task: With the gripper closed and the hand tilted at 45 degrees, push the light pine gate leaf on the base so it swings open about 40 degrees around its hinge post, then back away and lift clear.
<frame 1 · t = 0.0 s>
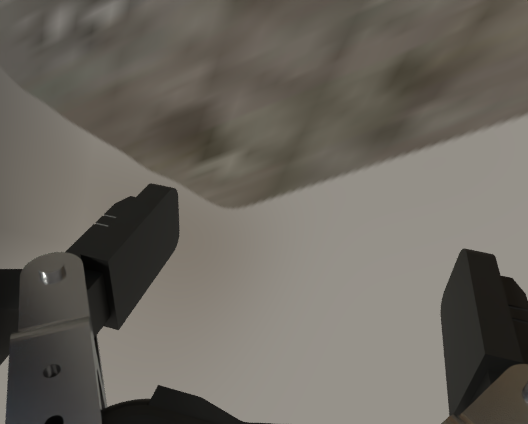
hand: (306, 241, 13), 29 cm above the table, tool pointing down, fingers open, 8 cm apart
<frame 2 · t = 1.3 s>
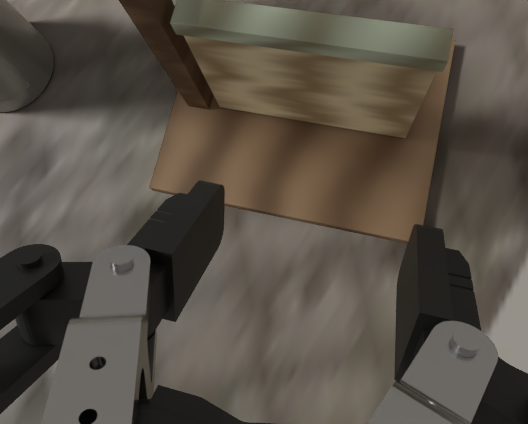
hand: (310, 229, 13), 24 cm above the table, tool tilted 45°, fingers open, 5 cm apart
gate leaf: (308, 77, 33), point 7 cm above the table, hinge at 0.0°
gate base: (221, 105, 41), on the table
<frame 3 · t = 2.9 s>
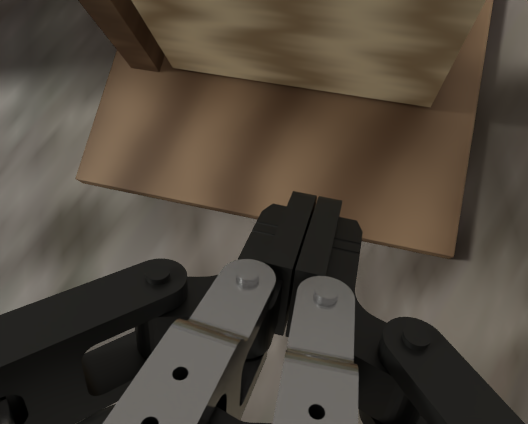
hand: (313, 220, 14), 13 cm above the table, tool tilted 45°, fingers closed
gate leaf: (290, 11, 22), point 7 cm above the table, hinge at 0.0°
gate base: (177, 67, 31), on the table
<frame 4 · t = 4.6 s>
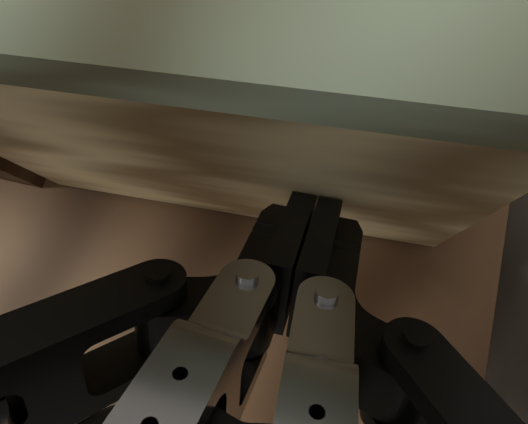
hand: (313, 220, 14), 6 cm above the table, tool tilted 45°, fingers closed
gate leaf: (197, 143, 13), point 7 cm above the table, hinge at 2.4°, touching gripper
gate base: (72, 176, 22), on the table
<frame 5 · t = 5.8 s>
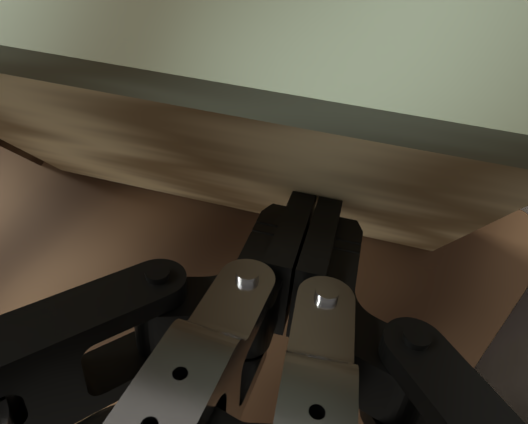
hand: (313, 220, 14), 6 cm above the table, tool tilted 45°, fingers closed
gate leaf: (199, 138, 13), point 8 cm above the table, hinge at 22.7°, touching gripper
gate base: (75, 162, 22), on the table
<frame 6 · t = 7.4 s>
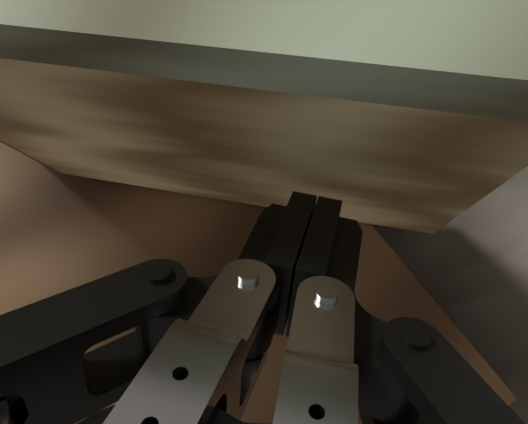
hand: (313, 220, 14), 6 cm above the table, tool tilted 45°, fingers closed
gate leaf: (199, 127, 13), point 8 cm above the table, hinge at 42.4°, touching gate base
gate base: (74, 165, 22), on the table
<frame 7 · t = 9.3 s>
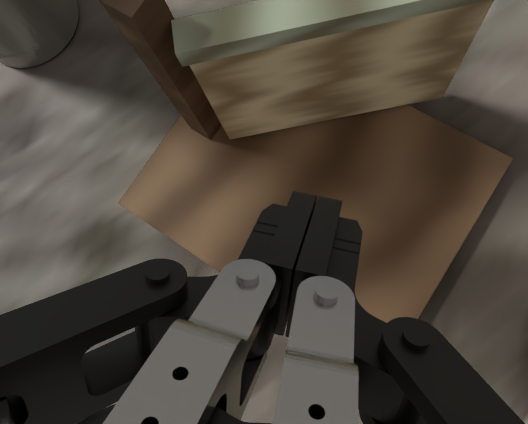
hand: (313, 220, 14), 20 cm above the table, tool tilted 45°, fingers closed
gate leaf: (333, 66, 28), point 7 cm above the table, hinge at 42.4°, touching gate base
gate base: (227, 138, 36), on the table
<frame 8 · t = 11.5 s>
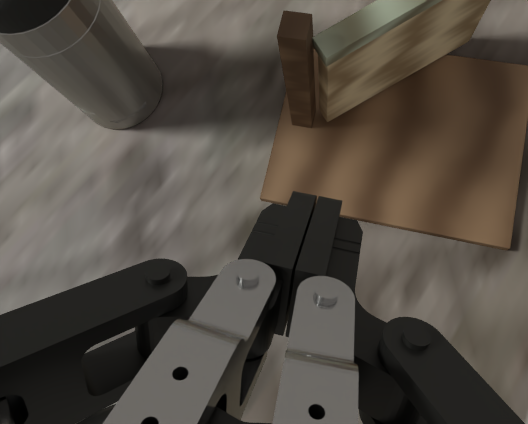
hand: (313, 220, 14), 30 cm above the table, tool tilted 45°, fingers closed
gate leaf: (404, 39, 39), point 8 cm above the table, hinge at 42.4°, touching gate base
gate base: (319, 124, 46), on the table
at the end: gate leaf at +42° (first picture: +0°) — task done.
